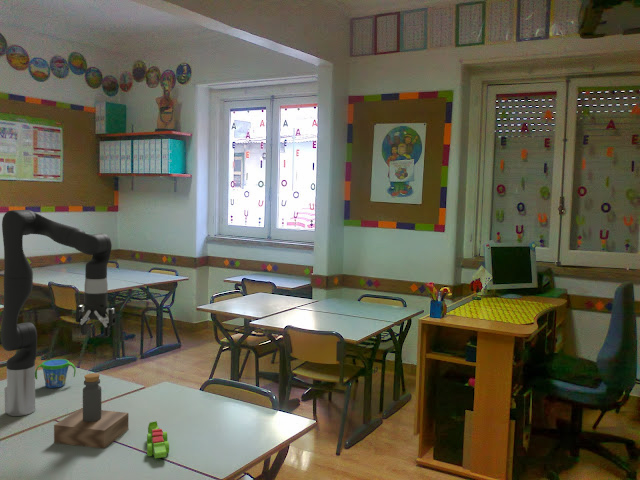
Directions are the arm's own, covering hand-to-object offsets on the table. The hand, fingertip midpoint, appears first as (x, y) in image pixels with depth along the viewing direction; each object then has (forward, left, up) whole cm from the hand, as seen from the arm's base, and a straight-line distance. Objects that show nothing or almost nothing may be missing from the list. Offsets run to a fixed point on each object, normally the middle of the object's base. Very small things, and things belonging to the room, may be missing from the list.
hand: (95, 335), depth 195 cm
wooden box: (+5, -10, -32) cm, 34 cm away
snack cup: (-38, +30, -32) cm, 58 cm away
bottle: (+5, -10, -26) cm, 28 cm away
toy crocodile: (+31, -14, -32) cm, 46 cm away
